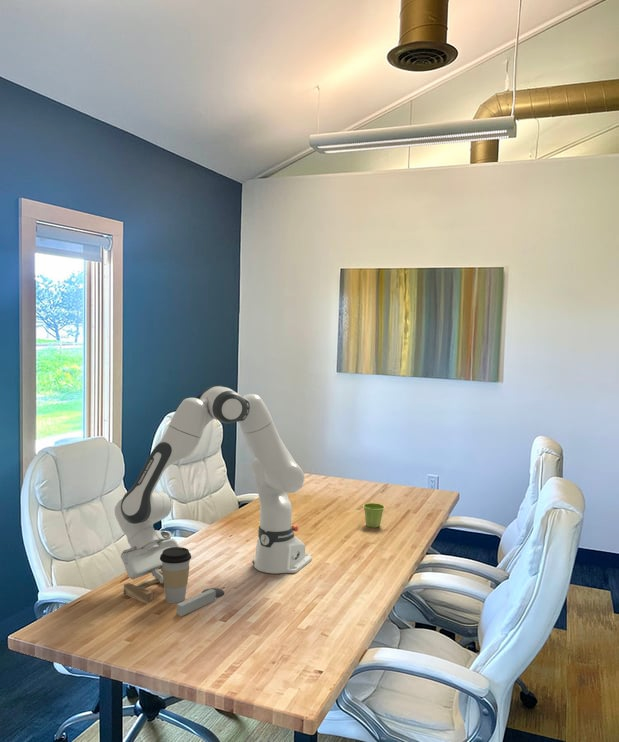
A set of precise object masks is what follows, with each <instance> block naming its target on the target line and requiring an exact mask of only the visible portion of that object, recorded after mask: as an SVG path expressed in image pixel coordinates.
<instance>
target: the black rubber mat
mask: <svg viewBox="0 0 619 742" xmlns="http://www.w3.org/2000/svg"><path fill="white" fill-rule="evenodd" d="M210 589H213V590H216V598H220V597H222V596H224V594H225V591H224V590H223V589H221V588H218V587H217V588H216V587H215V588H214V587H213V588H212V587H211V588H206V589H204V590H202V592H201V593H203V592H205V591H207V590H210Z"/></svg>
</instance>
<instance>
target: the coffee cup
mask: <svg viewBox="0 0 619 742" xmlns="http://www.w3.org/2000/svg"><path fill="white" fill-rule="evenodd" d="M191 559H192V554H191V552H190V550H189V549H188V548H186V547H182V546H180V547H172V548H167V549H165V550H164V551H163V553H162V554H161V556H160V560H161V561H162V572H163V583H162V584H163V586H164V587H163V589H164V598H165V601H166V602H167V603H169V604H179V603H181V602H183V601H185V600H186V594H187V586H188V583H189V582H188V581H189V572H190V560H191ZM178 602H179V603H178Z"/></svg>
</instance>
